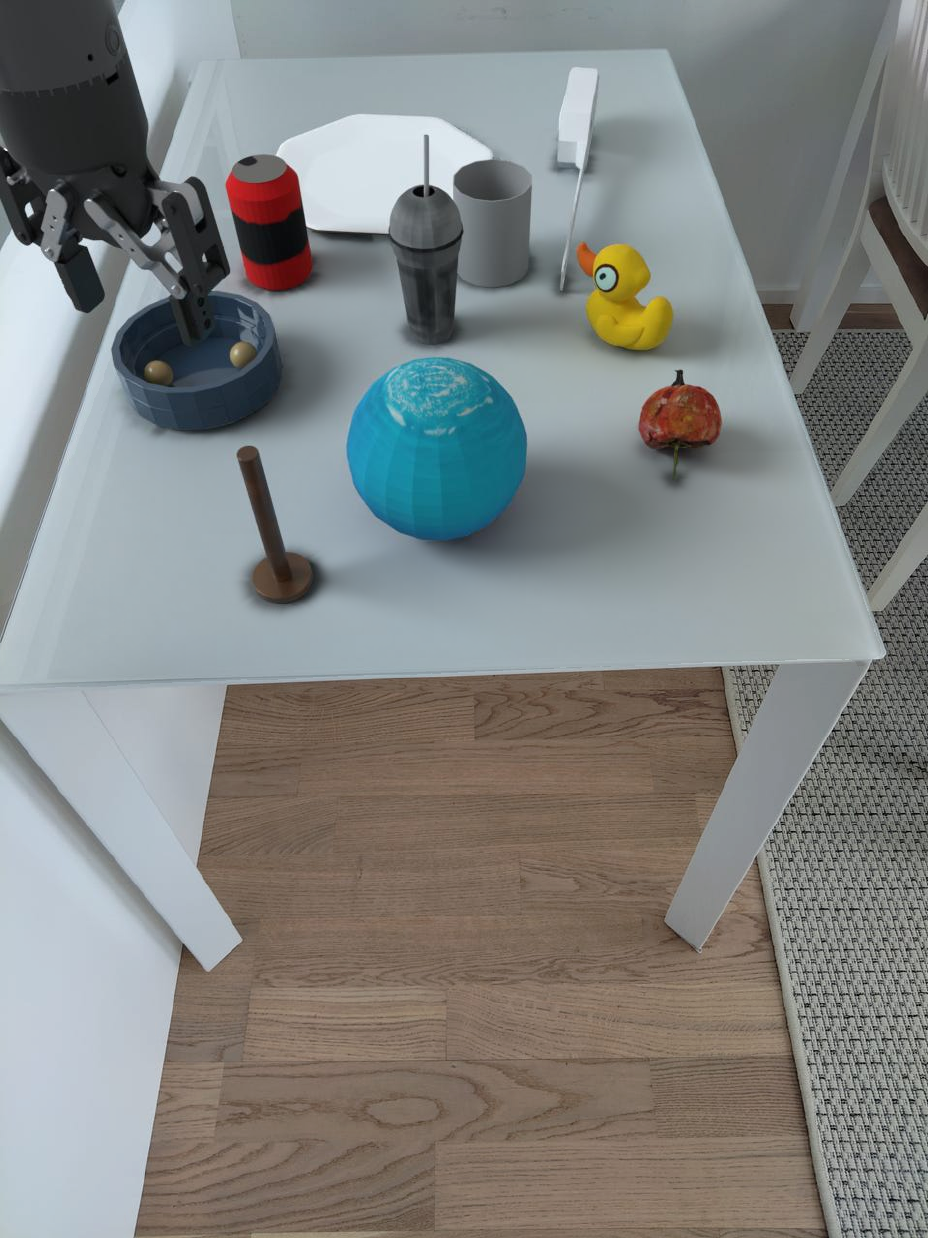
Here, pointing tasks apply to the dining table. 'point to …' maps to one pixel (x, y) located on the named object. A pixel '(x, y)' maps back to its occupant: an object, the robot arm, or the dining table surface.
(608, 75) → the dining table surface
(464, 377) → the decorative orb
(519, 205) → the cup
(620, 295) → the duckling
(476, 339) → the dining table surface
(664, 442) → the orange red pumpkin
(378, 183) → the plate
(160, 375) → the bead
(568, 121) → the spatula
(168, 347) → the bowl
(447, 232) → the beverage cup
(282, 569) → the stirrer
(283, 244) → the soda can
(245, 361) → the bead
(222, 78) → the dining table surface
